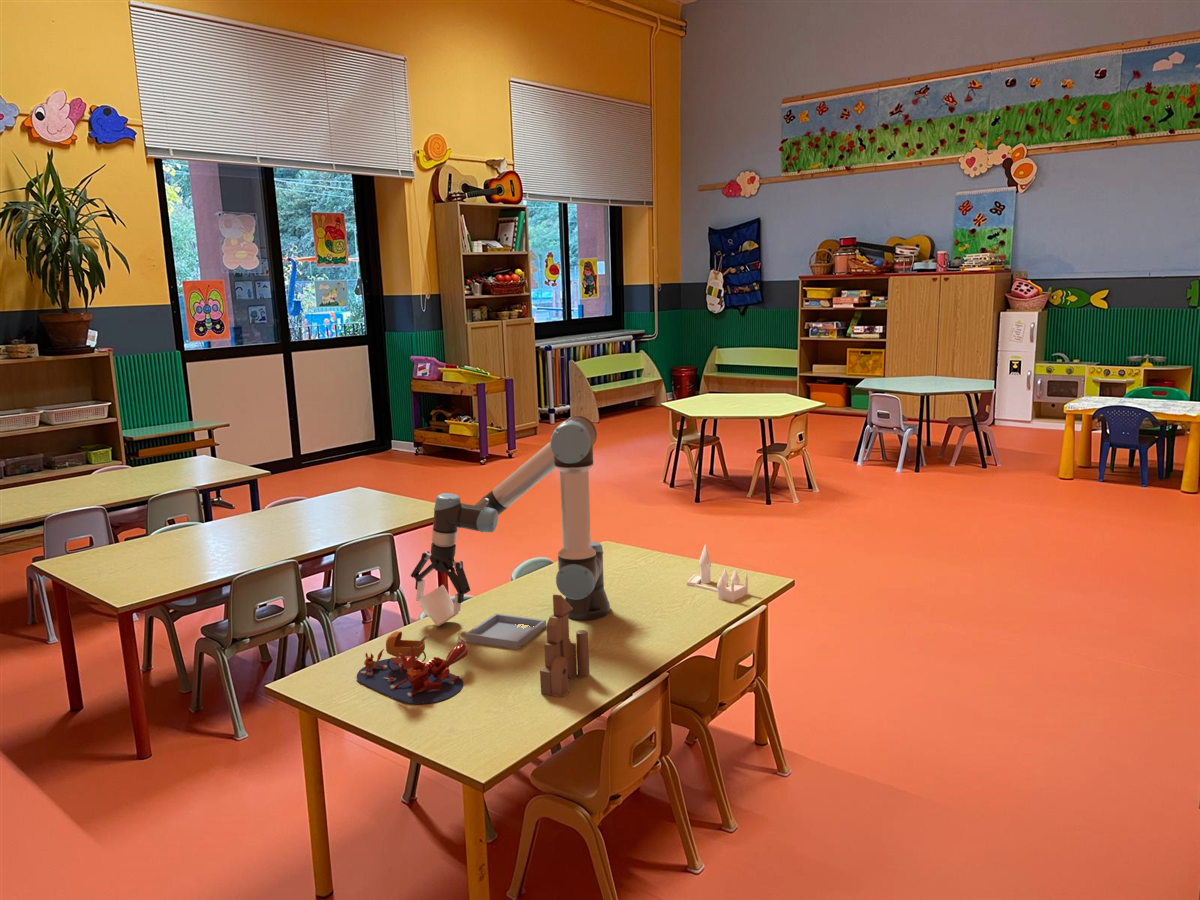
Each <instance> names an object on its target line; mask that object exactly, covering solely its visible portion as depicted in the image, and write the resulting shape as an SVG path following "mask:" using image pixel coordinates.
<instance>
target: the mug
mask: <svg viewBox="0 0 1200 900" xmlns="http://www.w3.org/2000/svg"><path fill="white" fill-rule="evenodd" d="M418 602H419V603H418V604H419V607H420V608H421V610H422V612H423V613H425V615H426V616H427V617H429V618H430V619H431V620H432V622H433V623H434V625H435V626H436V627H437V628H438V627H440V626H441V625H443V624H445V623H447V622H448V621H450V620H451V619H452V618H455V617H456V616H457V615H458V614H459V612H460V611H459V612H457V613H453V612H454V601H453V600H452V598H451V596H450V593H449V592H448V589H446V587H445V585H444V584H441V585H440V586H438V587H437V588H435V589H433V590H432V591H431V592H429V593H427V594H426V595H423V597H422V598H421V599H419V601H418Z"/></svg>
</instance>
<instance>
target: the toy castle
mask: <svg viewBox="0 0 1200 900" xmlns="http://www.w3.org/2000/svg"><path fill="white" fill-rule="evenodd" d="M698 563H699V568H700V570H699V571H700V572H699V574H697V573H696V574H695V573H694V574H693V575H692V576H691V577H690V578H689V579H688V580H687V581H686V586H690V587H695V588H699V589H703V590H707V591H711V592H715V593H717V600H719V601H728V602H731V603H734V602H735V601H736V600H738V599H741V598H742V597H745V596H748V595H749V594H748V593H749V592H748V591H749V590H748V589H749V587H748V585H749V583H748V582H749V578H748V573H747V571H746V572H745V576H744V584H741V583H740V581H741V579H740V577H739V574H738V572H737V570H736V569H734V570H733V573H732V575H731V578H730V585H729V575H728V571H727V569H726V567H724V569H723V572H722V574H721V575H720V578H719V580H718V581H717V584H716V588H715V587H711V586H707V585H706V584H710V583H711V568H712V563H713V562H712V559H711V557H710V554H709V551H708V549H707V545H706V544H704V546H703V549H702V551H701V555H700V557H699V560H698ZM699 583H700V584H699ZM703 584H705V585H703Z"/></svg>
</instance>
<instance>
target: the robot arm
mask: <svg viewBox="0 0 1200 900" xmlns="http://www.w3.org/2000/svg"><path fill="white" fill-rule="evenodd" d="M597 436H598V433H597V428H596V425H595V424H594V422H593V421H592V420H590V419H589V418H588V417H586V416H582V415H573V416H570V417H568V418H566V420H563V422H561V423H560V424H558V425H557V426H556V427H555V429H554V430H553V433H552V434H551V437H550V441H549V442H548V443H547V444H546V445H544V446H543V447H542V448H541V449H540V450H538V451H536V453H535V454H534V455H532V456H531V457H530V458H528V459H527V460H526V461H525V462H524V463H523V464H521V465H520V466H519V467H518V468H517V469H516V470H514V471H513V472H512V473H511V474H510V475H509V476H507V477H506V478H505V479H503V480H502V481H501V482H500V483H499V484H498V485H496V486H495V487H494V488H493V489H492V490H491V491H489V492H488V493H487V494H486V495H484V496H483V497H481V499H480V500H478V502H476V503H475V504H466V503H463V502H461V497H460V496H459V495H458V494H455V493H451V492H450V493H448V492H447V493H446V492H445V493H440V494H438V495H437V496H436V497H435V504H434V508H433V510H434V511H433V524H432V525H433V526H432V534H431V535H432V536H431V543H430V544H431V545H430V546H431V547H430V551H424V552H423V553H422V554H421V557H420V560H419V561H418V563H417V564H416V566H415V568H414V569H413V570H412V572H411V573H410V577H411V578H414V579H415V588H414V589H415V590H416V596H415V597H416V599H415V600H416V601H417V602H420V601H419V599H421V598H422V597H424V591H425V582H426V580H425V579H424V577H425V578H426V576H428V575H429V574H430V573H431V572H432V571H433V570H435V571H436V572H440V573H442V574H444V573H445V575H446V576H447V577H448V578H449V580H450V582H451V584H452V585H453V588H454V589H455V590H456V592H454V593H455V595H454V601H453V603H454V612H453V613H457V612H460V611H461V606H462V603H463V602H464V598H465V597H464V596H465V594H467V593H469V592H471V588H470V585H469V582H468V578H467V576H466V573H465V570H464V562H463V561H462V560H460V561H456V560H455V556H456V547H457V546H456V543H457V537H458V536H457V535H458V528H459V529H466V530H470V531H471V530H472V531H475V532H476V531H477V532H480V533H493V532H495V530H496V528H497V526H498V521H499V515H501V514H502V513H503V512H504V511H505V510H507V509H508V508H509V507H510V506H512V505H513V504H514V503H515V502H516V501H517V500H519V499H520V498H521V497H522V496H524V495H525V494H526V493H527V492H528V491H530V490H531V489H532V488H533V487H534V486H536V485H537V484H538V483H540V482H541V481H542V480H543V479H545V478H546V477H547V476H548V475H549V474H551V473H552V472H553V471H554V470H555V469H557V470H558V471H559V480H560V481H559V482H560V483H559V485H560V509H561V510H560V511H561V514H560V516H561V536H562V537H561V538H562V539H561V540H562V548H561V549H560V550H559V551H558V553H557V562H558V563H557V564H558V567H557V569H558V571H557V573H556V577H555V584H556V587H557V590H558V591H559V593H560V594H561V595H562V596H564V599H565V600H566V601H567V602H568V604H569V605H570V606H571V607H572V608H573V610H571V611H570V612H568V618H570V619H573V620H577V621H578V620H580V621H589V620H590V621H591V620H596V619H601V618H604V617H605V616H607V615H609V614H610V612H611V605H610V601H609V599H608V596H607V594H606V590H605V587H604V586H605V584H604V583H605V582H604V580H605V578H604V577H605V576H604V550H603V545H602V544H601V543H600V542H596V541H592V538H591V508H590V506H591V505H590V477H589V475H590V474H589V470H590V469H591V468H592V467H593V466H594V447H593V446H594V445H596V444H595V443H596V441H597ZM429 560H430V562H431V563H430V565H428V566H427V567H426V568H425V569H424V570H422V569H423V568H424V566H425V565H426V564H427V562H428V561H429ZM421 571H422V572H421Z"/></svg>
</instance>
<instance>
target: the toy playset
mask: <svg viewBox="0 0 1200 900" xmlns="http://www.w3.org/2000/svg"><path fill="white" fill-rule="evenodd" d="M429 636H430V634H429V633H428V634H427V635H426V636H424V637H423V638H422V639H421V640H416V639H415V640H414V639H413V640H411V639H402V637H403V631H398V630H397V631H394V632H392V633H390V635H388V636H387V638H386V641H385V648H383V649H382V650H380V651H379V653H378V654H377V660H374V654H372V652H370V656H368V652H367V651H366V653H365V660H364V662H363V665H365V666H363V667H362V668H360V669H359V671H357V673H356V680H357V681H358V683H359V684H362V685H364V686H366V687H368V688H370V689H372V690H374V691H376V692H378V693H380V694H383V695H385V696H387V697H389V698H392V699H395V700H397V701H399V702H401V703H404V704H410V705H427V704H434V703H435V704H436V703H439V702H442V701H446V700H449V699H450V698H452V697H455V696H456V695H457V694H459V693H460V692H461V691H462V689H463V687H464V681H463V678H461V677H460V676H459V675H456V674H453V673H451V672H450V669H449V667H450V666H452V665H453V664H455V663H457V662H459V661H461V660H462V659H464V658H466V656H467V655H468V652H469V649H468V645H467V642H466V640H464V639H462V638H461V636H460V635H458V637H457V642H456V645H455V647H454V648H453V649H451V650H450V651H449V652H448V654H447V656H446V658H445V659H443V658H440V657H436V656H434V657H432V658H431V659H429V660H428V661H427V662H425V661H426V659H427V654H426V652H425V648H426V644H425V643H426V641H425V640H426V639H427V638H428V637H429ZM384 650H385V652H386V653H387V654H388V655H391V656H392V657H390V658H386V659H381V657H382V656H383V652H384ZM422 654H423V656H424V658H423V660H420V659H418V658H420V657H421V655H422Z"/></svg>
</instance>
